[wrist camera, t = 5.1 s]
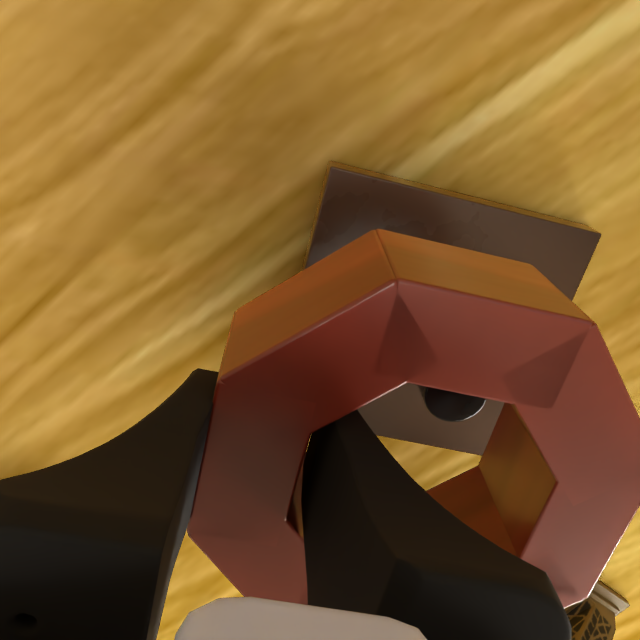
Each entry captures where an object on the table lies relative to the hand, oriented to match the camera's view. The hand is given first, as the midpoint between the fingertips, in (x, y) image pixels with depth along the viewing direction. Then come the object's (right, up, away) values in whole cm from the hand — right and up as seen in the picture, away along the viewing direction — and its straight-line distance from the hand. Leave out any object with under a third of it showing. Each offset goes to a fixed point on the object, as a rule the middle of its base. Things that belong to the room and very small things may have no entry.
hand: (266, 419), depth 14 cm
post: (+5, +2, +10) cm, 11 cm away
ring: (+3, 0, +2) cm, 4 cm away
